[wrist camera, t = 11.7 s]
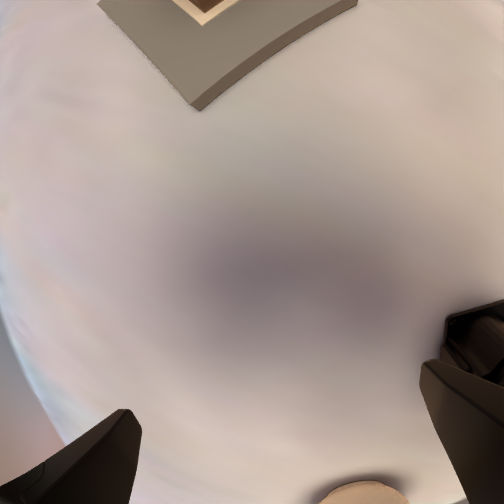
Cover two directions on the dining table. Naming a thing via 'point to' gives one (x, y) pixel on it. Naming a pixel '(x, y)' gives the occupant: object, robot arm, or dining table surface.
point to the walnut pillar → (205, 4)
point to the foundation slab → (215, 37)
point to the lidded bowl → (364, 494)
